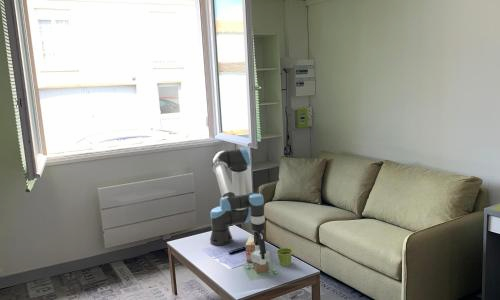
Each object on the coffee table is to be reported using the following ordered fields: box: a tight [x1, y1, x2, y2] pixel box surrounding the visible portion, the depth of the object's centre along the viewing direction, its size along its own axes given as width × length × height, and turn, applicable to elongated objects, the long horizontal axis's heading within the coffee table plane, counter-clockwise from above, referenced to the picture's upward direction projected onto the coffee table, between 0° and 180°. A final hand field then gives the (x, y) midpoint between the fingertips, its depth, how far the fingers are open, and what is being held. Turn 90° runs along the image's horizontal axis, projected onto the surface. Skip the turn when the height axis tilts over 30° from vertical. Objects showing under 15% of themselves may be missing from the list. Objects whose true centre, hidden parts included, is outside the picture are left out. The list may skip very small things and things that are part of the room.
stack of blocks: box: [245, 235, 255, 263], centre depth 255 cm, size 21×6×12 cm, turn 171°
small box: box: [251, 249, 271, 265], centre depth 233 cm, size 8×8×5 cm
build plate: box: [241, 259, 283, 281], centre depth 235 cm, size 20×18×2 cm
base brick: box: [252, 262, 269, 273], centre depth 234 cm, size 7×7×5 cm
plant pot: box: [275, 247, 294, 267], centre depth 240 cm, size 9×9×9 cm
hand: (260, 260), depth 234 cm, fingers open, 10 cm apart
